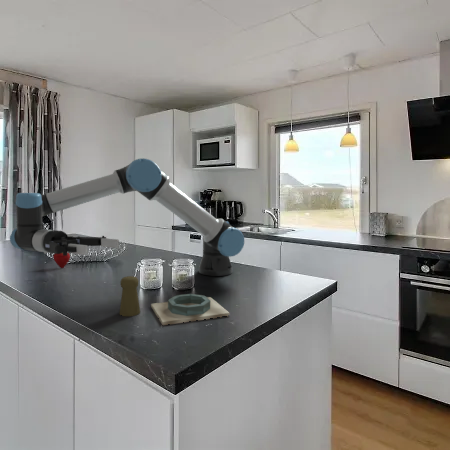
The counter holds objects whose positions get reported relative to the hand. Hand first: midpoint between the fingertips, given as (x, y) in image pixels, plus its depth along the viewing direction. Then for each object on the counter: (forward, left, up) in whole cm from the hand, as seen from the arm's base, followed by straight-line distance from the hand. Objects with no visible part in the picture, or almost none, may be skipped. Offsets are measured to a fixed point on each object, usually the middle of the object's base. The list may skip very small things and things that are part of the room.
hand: (103, 246), depth 105 cm
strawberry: (+14, -62, -19) cm, 67 cm away
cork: (-7, +7, -19) cm, 22 cm away
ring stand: (-24, +12, -19) cm, 33 cm away
